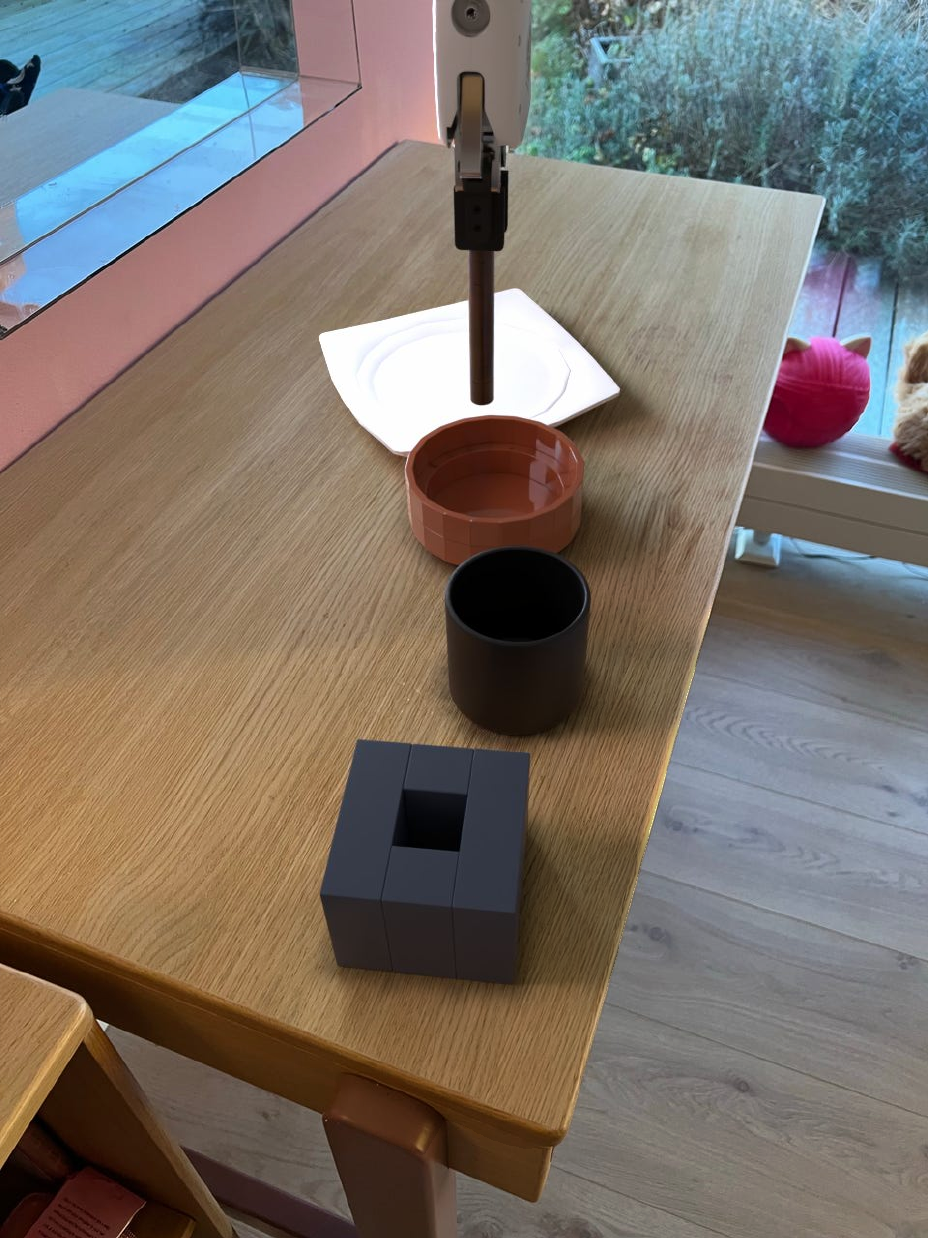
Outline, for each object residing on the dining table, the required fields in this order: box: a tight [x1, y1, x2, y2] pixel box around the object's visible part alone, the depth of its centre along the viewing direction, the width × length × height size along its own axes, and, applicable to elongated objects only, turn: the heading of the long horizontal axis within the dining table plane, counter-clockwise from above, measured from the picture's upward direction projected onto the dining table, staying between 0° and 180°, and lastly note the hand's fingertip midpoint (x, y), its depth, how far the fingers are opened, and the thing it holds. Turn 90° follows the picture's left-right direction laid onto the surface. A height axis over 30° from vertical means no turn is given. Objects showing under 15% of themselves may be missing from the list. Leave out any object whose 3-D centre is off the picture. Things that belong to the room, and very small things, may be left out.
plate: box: [318, 287, 621, 458], centre depth 97 cm, size 24×24×3 cm
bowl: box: [404, 415, 585, 567], centre depth 82 cm, size 14×14×6 cm
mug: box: [444, 546, 592, 736], centre depth 68 cm, size 9×12×9 cm
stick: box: [467, 153, 495, 405], centre depth 69 cm, size 2×2×18 cm
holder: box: [319, 738, 531, 985], centre depth 57 cm, size 10×10×8 cm
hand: (481, 237), depth 67 cm, fingers closed on stick, 1 cm apart
